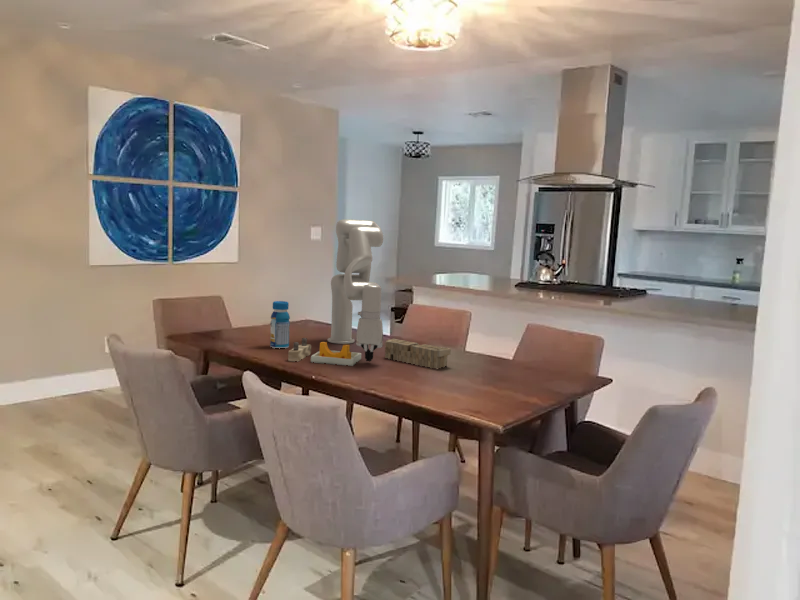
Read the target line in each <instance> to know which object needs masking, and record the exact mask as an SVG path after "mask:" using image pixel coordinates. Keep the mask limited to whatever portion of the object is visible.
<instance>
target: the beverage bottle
mask: <svg viewBox="0 0 800 600" xmlns="http://www.w3.org/2000/svg"><path fill="white" fill-rule="evenodd" d="M272 310H273V311H272V313H271V316H270V319H271V320H270V322H269V324H270V334H269V335H270V338H269V342H270V343H269V346H270V348H271V347H272V349H275V348H279V349H280V348H285V349H288V348H289V347H290V330H291V329H290V328H291V326H290V325H291V322H290V319H291V316H290V313H289V312H288V310H289V301H283V300H275V301H273V302H272ZM280 350H281V349H280Z"/></svg>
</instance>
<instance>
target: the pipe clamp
mask: <svg viewBox="0 0 800 600" xmlns="http://www.w3.org/2000/svg"><path fill="white" fill-rule="evenodd" d="M350 347H351V345H350V344H342V348H341V350H339V351H340V352H339V353H338V352H336V353H333V352H332V351H333V350H332V351H330V350H331V349H330V348H329V346H328V341H321V342H319V351H320V355H319V356H321V357H333V358H344V359H351V352H352V351H350V350H351V349H350Z"/></svg>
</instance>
